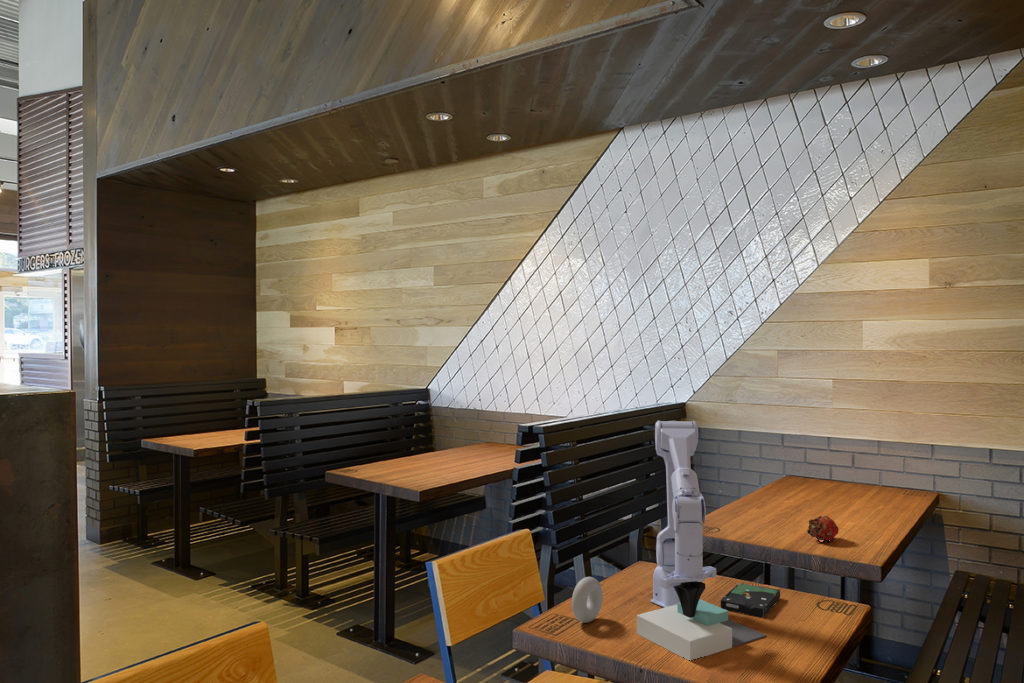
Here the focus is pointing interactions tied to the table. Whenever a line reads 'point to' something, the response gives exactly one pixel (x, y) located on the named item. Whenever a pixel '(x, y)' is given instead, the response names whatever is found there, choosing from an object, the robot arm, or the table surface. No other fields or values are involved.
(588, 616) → the donut
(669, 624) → the white flat block
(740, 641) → the mat
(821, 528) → the dragon fruit
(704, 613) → the teal rectangular block
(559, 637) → the table surface
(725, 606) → the disk drive
